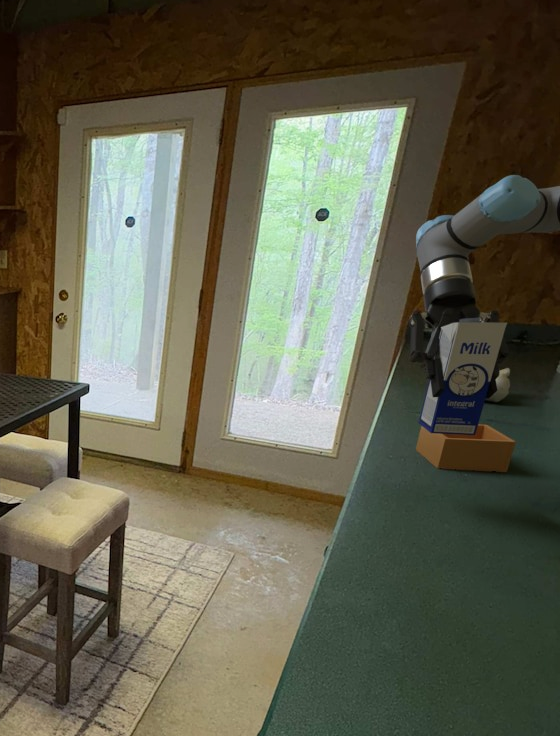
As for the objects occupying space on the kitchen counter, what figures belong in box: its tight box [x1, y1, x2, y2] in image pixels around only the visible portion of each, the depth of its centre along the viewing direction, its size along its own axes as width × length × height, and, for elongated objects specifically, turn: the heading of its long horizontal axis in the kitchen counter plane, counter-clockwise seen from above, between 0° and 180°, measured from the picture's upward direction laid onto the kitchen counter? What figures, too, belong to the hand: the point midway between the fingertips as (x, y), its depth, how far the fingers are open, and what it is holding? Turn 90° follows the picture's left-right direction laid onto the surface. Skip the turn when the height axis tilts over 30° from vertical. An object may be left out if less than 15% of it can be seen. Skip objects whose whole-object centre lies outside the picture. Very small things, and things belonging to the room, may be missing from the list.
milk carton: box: [418, 318, 508, 435], centre depth 112 cm, size 7×7×20 cm
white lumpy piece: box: [485, 367, 511, 403], centre depth 182 cm, size 15×7×15 cm
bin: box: [415, 423, 517, 473], centre depth 138 cm, size 13×13×7 cm
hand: (464, 393), depth 109 cm, fingers closed on milk carton, 7 cm apart
